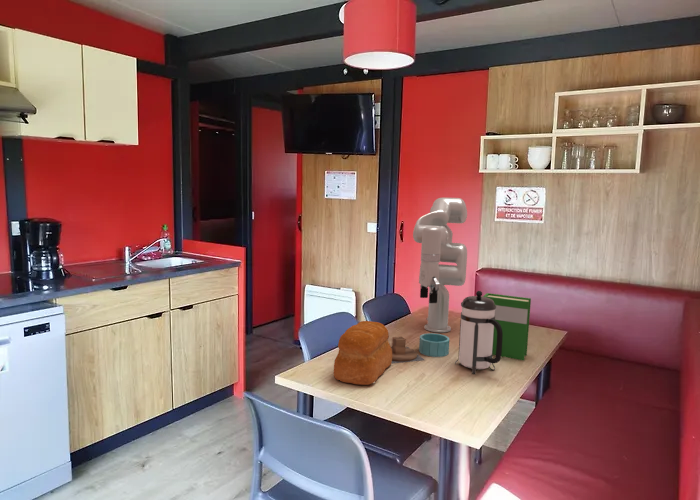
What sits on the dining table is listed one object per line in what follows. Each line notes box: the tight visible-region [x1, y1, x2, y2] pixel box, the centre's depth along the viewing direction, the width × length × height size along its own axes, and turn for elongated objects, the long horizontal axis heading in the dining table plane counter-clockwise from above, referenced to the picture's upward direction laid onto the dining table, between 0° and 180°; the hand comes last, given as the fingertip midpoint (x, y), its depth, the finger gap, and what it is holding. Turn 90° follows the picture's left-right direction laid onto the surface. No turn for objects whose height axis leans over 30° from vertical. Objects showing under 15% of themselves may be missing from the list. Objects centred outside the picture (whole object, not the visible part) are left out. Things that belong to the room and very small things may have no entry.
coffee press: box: [454, 290, 503, 375], centre depth 181 cm, size 17×16×30 cm
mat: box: [391, 346, 426, 365], centre depth 194 cm, size 16×16×1 cm
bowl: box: [418, 332, 450, 358], centre depth 199 cm, size 12×12×6 cm
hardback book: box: [482, 292, 532, 361], centre depth 199 cm, size 18×7×24 cm, turn 62°
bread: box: [333, 320, 392, 386], centre depth 176 cm, size 16×26×17 cm, turn 157°
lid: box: [390, 336, 418, 363], centre depth 194 cm, size 15×15×7 cm
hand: (428, 300), depth 194 cm, fingers open, 9 cm apart
